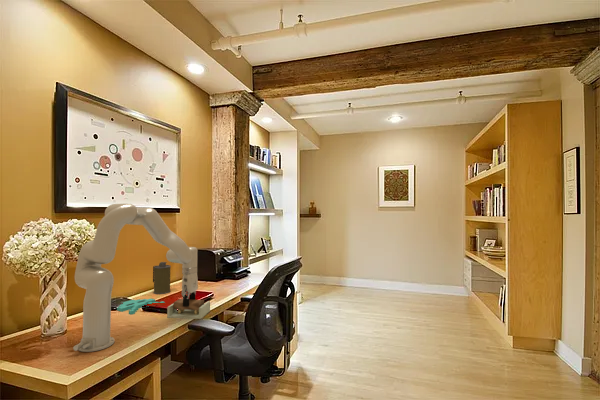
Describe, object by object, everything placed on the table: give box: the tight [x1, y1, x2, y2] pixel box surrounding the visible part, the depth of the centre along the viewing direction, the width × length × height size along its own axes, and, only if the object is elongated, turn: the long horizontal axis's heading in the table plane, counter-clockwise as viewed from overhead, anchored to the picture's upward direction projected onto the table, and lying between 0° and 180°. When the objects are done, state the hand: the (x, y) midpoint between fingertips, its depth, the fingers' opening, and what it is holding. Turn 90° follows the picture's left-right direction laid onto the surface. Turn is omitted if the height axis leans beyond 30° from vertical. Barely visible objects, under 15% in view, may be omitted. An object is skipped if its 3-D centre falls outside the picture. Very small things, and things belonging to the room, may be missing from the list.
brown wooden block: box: [173, 298, 205, 310], centre depth 165 cm, size 14×6×4 cm, turn 84°
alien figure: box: [116, 298, 166, 316], centre depth 178 cm, size 20×2×20 cm
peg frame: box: [166, 300, 211, 320], centre depth 165 cm, size 12×18×6 cm, turn 85°
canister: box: [152, 261, 172, 295], centre depth 210 cm, size 11×10×20 cm
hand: (189, 303), depth 165 cm, fingers open, 6 cm apart
